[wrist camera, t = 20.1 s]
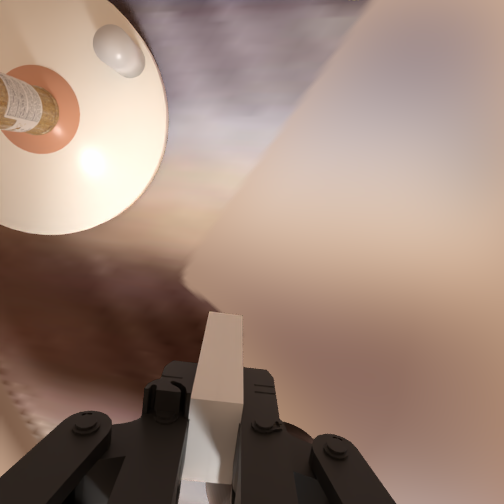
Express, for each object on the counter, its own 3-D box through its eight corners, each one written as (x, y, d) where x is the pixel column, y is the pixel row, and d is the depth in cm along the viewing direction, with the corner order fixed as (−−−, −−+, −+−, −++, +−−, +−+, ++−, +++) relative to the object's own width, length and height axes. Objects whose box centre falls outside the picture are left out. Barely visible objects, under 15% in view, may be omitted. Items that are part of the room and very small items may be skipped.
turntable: (210, 168, 41) (203, 170, 34) (16, 267, 43) (-30, 289, 36) (89, -70, 36) (50, -129, 29) (-126, 53, 38) (-213, 27, 30)
